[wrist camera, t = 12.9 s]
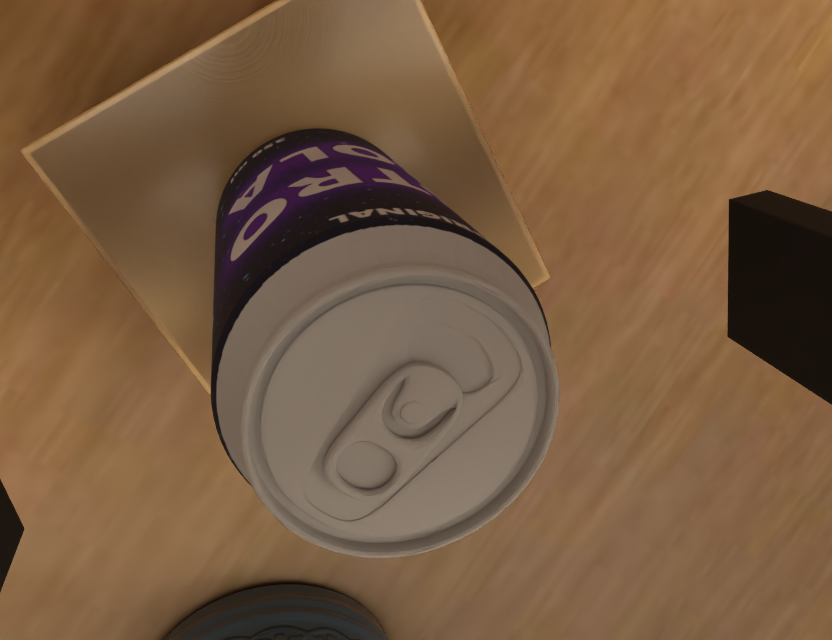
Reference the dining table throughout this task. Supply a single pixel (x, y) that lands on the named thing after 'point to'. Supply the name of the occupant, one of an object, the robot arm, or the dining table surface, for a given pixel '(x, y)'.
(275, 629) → the canister
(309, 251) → the beverage can
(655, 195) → the dining table surface
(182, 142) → the wooden block
